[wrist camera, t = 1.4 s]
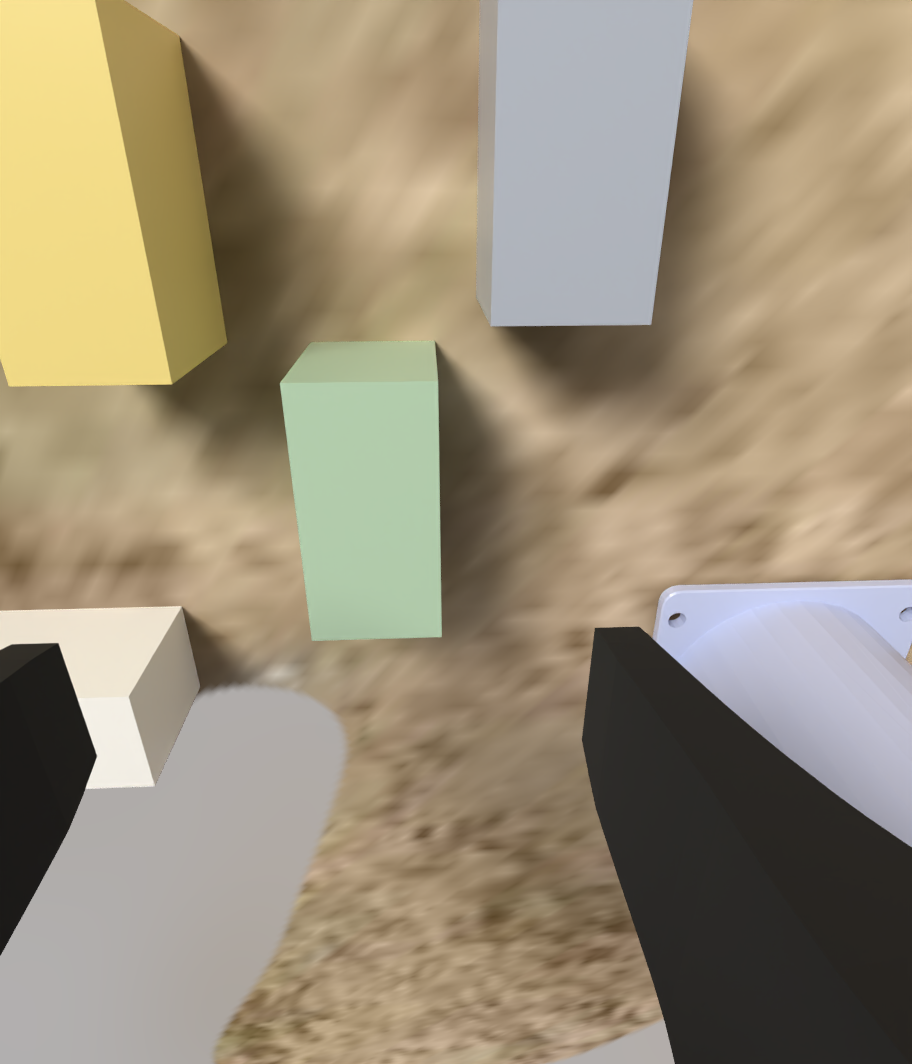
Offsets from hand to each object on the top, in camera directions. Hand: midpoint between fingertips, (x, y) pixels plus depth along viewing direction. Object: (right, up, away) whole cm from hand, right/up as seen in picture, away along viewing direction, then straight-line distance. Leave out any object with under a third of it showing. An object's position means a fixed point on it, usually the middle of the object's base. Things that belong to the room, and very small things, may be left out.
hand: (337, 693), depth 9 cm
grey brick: (+4, +11, +5) cm, 12 cm away
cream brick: (-9, -1, +11) cm, 14 cm away
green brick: (0, +4, +8) cm, 9 cm away
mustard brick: (-5, +9, +5) cm, 12 cm away
